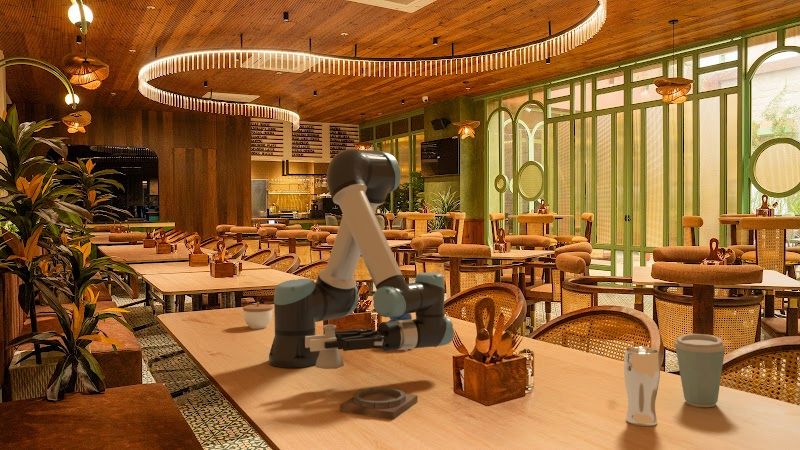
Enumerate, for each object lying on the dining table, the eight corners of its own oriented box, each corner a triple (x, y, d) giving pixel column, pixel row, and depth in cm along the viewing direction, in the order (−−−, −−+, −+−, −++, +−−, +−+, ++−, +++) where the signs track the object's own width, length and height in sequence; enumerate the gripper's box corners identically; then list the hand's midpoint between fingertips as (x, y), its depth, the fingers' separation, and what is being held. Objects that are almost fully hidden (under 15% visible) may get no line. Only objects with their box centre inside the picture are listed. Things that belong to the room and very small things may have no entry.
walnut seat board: (340, 411, 143) (340, 399, 143) (367, 395, 155) (367, 384, 155) (393, 419, 138) (393, 406, 137) (417, 401, 149) (417, 390, 149)
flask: (339, 371, 156) (339, 329, 155) (310, 369, 157) (310, 328, 157) (347, 363, 163) (348, 323, 162) (320, 361, 164) (320, 322, 164)
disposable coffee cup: (722, 413, 140) (723, 344, 139) (669, 405, 145) (669, 339, 145) (727, 400, 149) (728, 335, 148) (677, 393, 154) (677, 331, 154)
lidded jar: (279, 326, 242) (278, 301, 242) (258, 331, 233) (257, 305, 233) (258, 323, 248) (257, 299, 248) (237, 328, 239) (236, 302, 239)
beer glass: (618, 416, 138) (618, 346, 138) (649, 415, 139) (650, 345, 138) (632, 427, 131) (633, 354, 131) (665, 426, 132) (666, 353, 131)
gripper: (410, 357, 160) (318, 367, 150) (383, 343, 175) (298, 351, 165) (410, 327, 159) (318, 335, 150) (383, 315, 174) (298, 322, 165)
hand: (308, 343), depth 157 cm, fingers closed on flask, 3 cm apart
